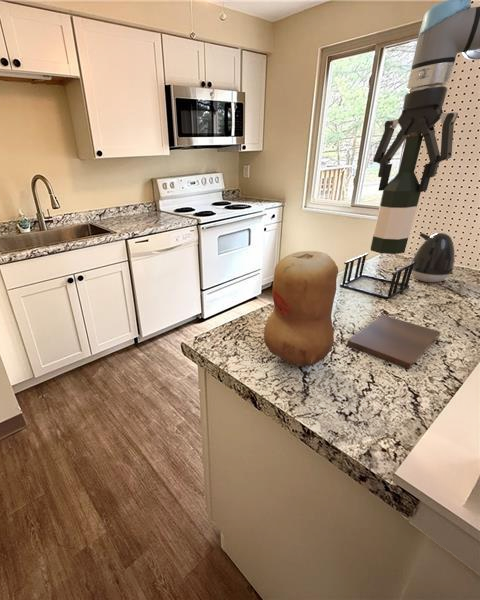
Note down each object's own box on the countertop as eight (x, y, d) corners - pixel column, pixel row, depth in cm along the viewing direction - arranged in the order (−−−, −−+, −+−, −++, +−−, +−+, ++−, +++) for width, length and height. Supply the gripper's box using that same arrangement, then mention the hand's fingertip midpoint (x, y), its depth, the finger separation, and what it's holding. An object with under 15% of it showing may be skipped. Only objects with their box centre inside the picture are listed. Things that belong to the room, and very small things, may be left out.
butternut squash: (251, 348, 75) (258, 249, 65) (300, 338, 77) (315, 240, 67) (286, 385, 63) (302, 270, 52) (344, 371, 65) (370, 258, 54)
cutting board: (380, 319, 82) (381, 314, 81) (439, 337, 72) (441, 331, 72) (346, 345, 73) (347, 340, 72) (408, 369, 64) (410, 363, 63)
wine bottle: (395, 245, 92) (425, 130, 79) (412, 253, 84) (447, 129, 72) (364, 246, 93) (387, 134, 81) (377, 254, 86) (405, 133, 73)
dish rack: (361, 275, 108) (366, 252, 104) (409, 287, 97) (417, 261, 93) (338, 286, 102) (343, 262, 98) (387, 299, 91) (394, 273, 87)
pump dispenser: (417, 271, 107) (430, 227, 100) (455, 280, 98) (472, 232, 91) (399, 278, 103) (411, 233, 97) (437, 288, 94) (453, 239, 88)
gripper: (368, 98, 79) (351, 190, 89) (482, 77, 62) (446, 194, 72) (384, 97, 82) (366, 187, 92) (496, 77, 65) (460, 190, 75)
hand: (401, 190), depth 82 cm, fingers closed on wine bottle, 8 cm apart
